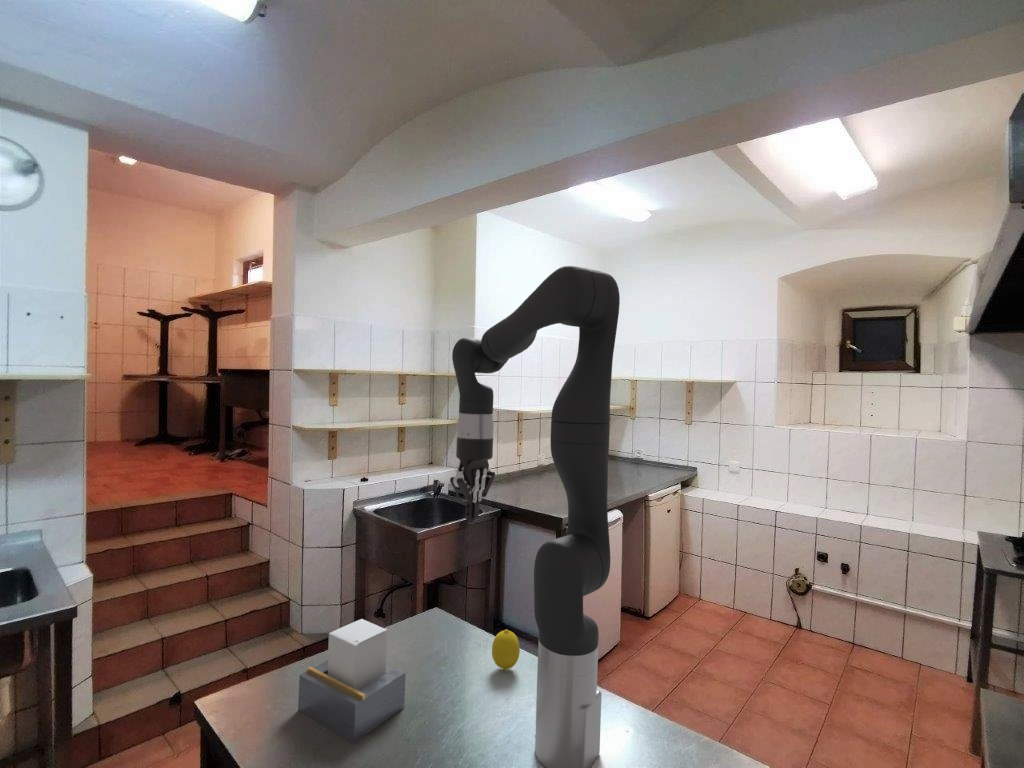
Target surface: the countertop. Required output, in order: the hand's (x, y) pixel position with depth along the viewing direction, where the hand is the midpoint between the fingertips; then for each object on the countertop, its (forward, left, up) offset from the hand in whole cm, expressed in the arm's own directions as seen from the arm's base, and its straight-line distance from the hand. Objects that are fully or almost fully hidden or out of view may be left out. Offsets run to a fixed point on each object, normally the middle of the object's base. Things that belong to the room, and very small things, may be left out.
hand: (472, 519), depth 103 cm
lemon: (-8, -2, -29) cm, 30 cm away
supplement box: (+8, +22, -29) cm, 37 cm away
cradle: (+7, +22, -29) cm, 37 cm away
